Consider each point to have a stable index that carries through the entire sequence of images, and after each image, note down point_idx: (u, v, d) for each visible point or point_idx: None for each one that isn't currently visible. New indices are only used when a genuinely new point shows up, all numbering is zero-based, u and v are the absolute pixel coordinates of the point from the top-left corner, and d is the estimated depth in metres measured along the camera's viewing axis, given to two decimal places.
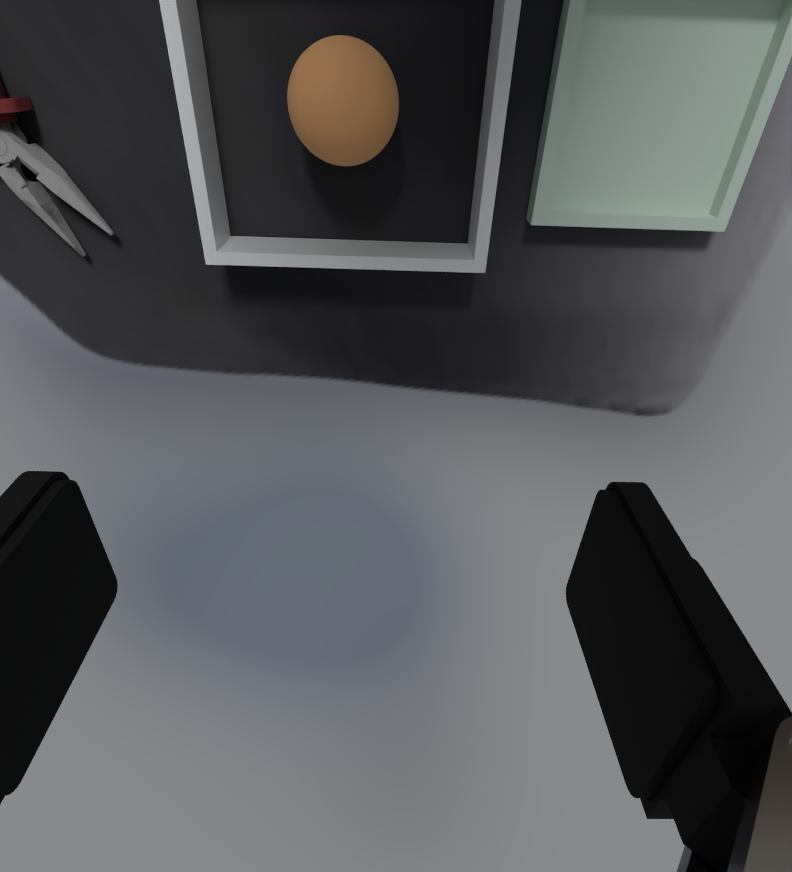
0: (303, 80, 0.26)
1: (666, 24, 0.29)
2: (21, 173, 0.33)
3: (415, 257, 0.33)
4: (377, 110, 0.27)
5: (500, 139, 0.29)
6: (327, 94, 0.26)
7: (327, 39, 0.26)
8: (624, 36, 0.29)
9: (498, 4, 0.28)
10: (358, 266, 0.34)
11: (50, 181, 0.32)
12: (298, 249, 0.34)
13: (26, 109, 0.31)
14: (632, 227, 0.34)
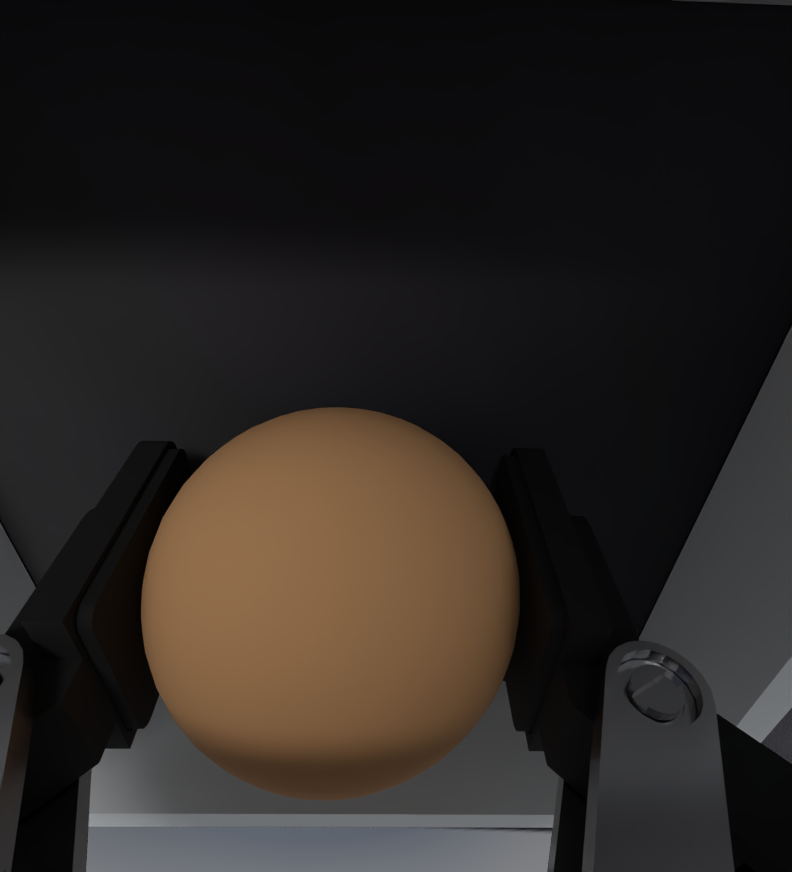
0: (173, 660, 0.07)
1: None
2: None
3: (520, 808, 0.13)
4: (463, 730, 0.07)
5: None
6: (265, 748, 0.06)
7: (271, 491, 0.07)
8: None
9: None
10: (376, 824, 0.14)
11: None
12: None
13: None
14: None
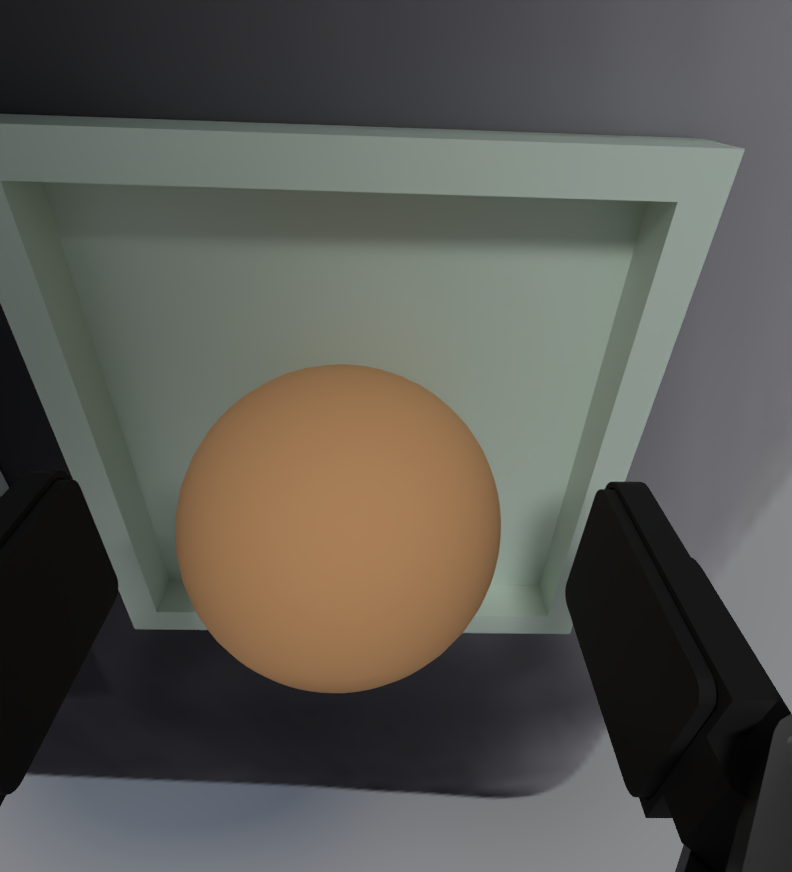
0: (206, 564, 0.08)
1: (323, 257, 0.10)
2: None
3: None
4: (449, 629, 0.08)
5: None
6: (285, 633, 0.08)
7: (288, 424, 0.08)
8: (216, 284, 0.11)
9: None
10: None
11: None
12: None
13: None
14: None
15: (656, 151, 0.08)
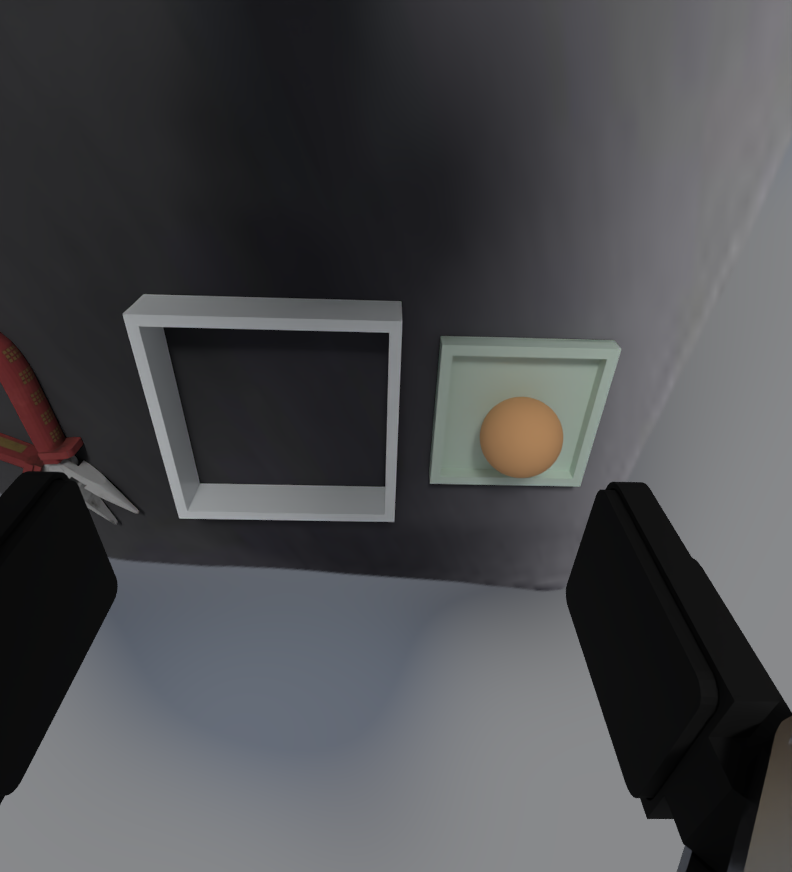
0: (502, 441, 0.37)
1: (516, 367, 0.39)
2: (72, 477, 0.45)
3: (340, 512, 0.43)
4: (552, 458, 0.37)
5: (395, 449, 0.40)
6: (520, 455, 0.37)
7: (519, 411, 0.37)
8: (486, 374, 0.40)
9: None
10: (296, 518, 0.44)
11: (94, 489, 0.44)
12: (250, 504, 0.44)
13: (79, 448, 0.43)
14: (508, 484, 0.44)
15: (601, 349, 0.37)
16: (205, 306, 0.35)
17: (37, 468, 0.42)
